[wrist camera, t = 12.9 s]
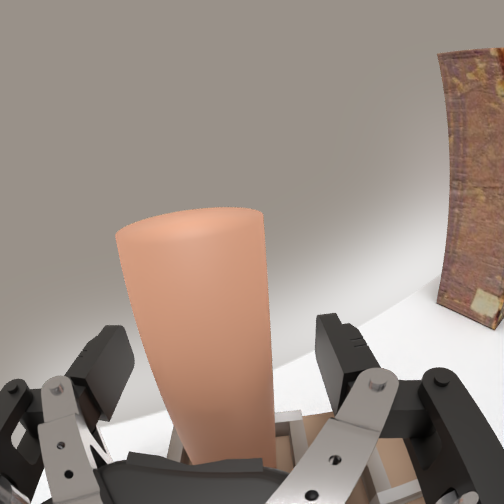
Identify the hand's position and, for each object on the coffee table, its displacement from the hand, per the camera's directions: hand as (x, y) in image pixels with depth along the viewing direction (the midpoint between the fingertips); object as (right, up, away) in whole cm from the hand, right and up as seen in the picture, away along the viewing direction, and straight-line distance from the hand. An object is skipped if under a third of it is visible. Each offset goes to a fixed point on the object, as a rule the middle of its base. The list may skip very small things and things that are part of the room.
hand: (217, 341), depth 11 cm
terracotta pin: (+1, -9, +1) cm, 9 cm away
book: (+37, -2, +19) cm, 42 cm away
